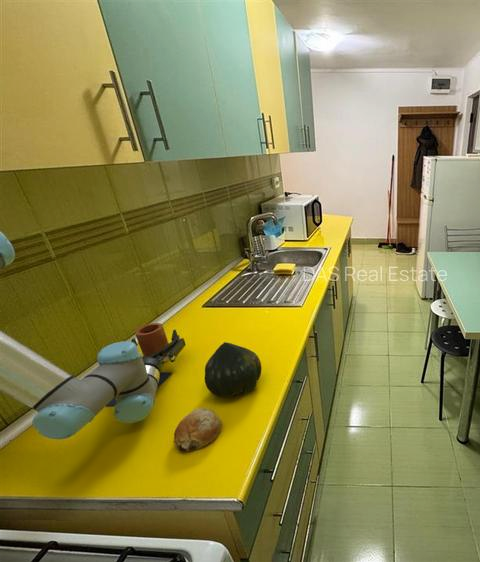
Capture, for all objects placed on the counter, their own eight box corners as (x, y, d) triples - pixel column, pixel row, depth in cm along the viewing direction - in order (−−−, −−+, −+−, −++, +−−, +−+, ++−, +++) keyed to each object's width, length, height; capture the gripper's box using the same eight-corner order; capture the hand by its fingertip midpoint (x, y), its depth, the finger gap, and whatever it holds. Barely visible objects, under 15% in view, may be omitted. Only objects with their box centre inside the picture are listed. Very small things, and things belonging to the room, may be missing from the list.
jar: (144, 368, 99) (132, 337, 94) (148, 356, 105) (137, 326, 100) (171, 361, 102) (160, 331, 97) (173, 350, 108) (163, 321, 103)
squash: (245, 396, 79) (250, 338, 84) (188, 399, 79) (197, 341, 84) (265, 394, 93) (268, 345, 97) (217, 397, 93) (222, 347, 97)
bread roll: (227, 444, 76) (233, 413, 76) (185, 462, 67) (192, 427, 67) (203, 428, 81) (209, 398, 81) (162, 442, 72) (169, 409, 72)
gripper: (96, 399, 82) (116, 356, 101) (194, 373, 92) (197, 337, 110) (85, 378, 80) (108, 337, 98) (188, 352, 89) (191, 319, 107)
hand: (155, 337), depth 104 cm, fingers open, 11 cm apart
